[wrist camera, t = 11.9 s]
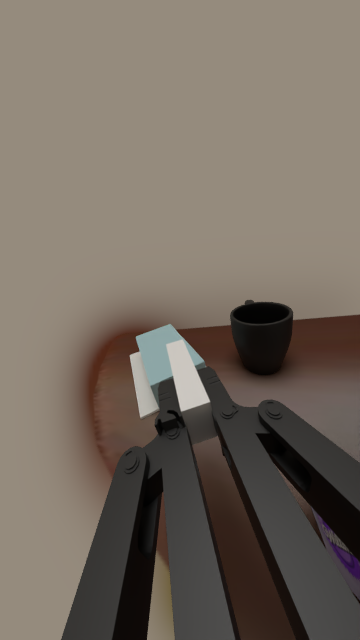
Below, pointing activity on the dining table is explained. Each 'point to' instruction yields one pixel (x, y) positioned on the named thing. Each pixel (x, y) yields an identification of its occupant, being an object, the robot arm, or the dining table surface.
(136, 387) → the white mat
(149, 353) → the teal block
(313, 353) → the dining table surface
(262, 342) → the mug
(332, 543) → the cake pan box
